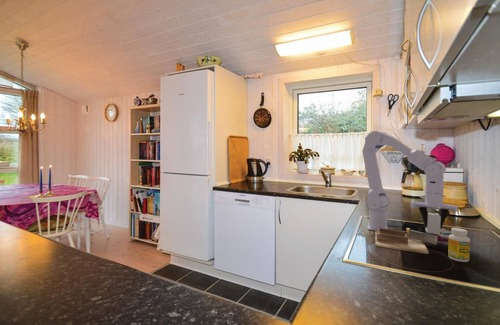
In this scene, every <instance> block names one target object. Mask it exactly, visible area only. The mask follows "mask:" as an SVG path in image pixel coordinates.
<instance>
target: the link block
mask: <svg viewBox="0 0 500 325" xmlns="http://www.w3.org/2000/svg"><path fill="white" fill-rule="evenodd" d="M440 223H441V216H440V215H439V213H432V212H428V215H427V227H425V226H424V228H425V229H424V230H425V233H427V234H431V235H441V229H440Z"/></svg>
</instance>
